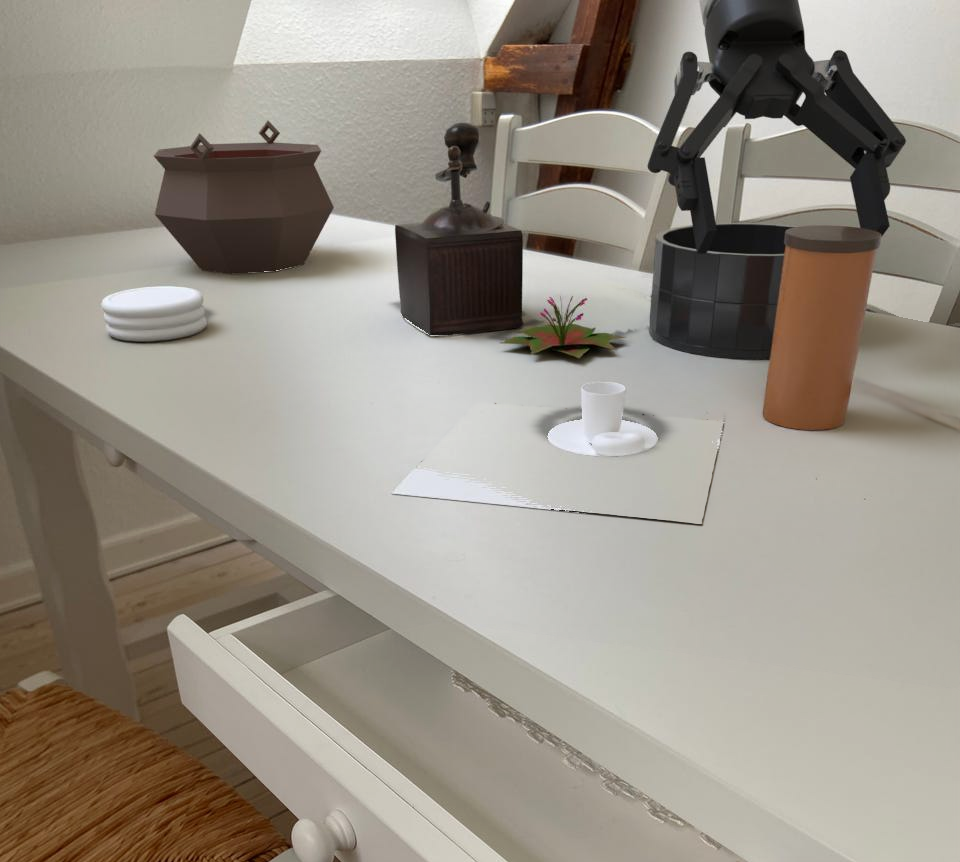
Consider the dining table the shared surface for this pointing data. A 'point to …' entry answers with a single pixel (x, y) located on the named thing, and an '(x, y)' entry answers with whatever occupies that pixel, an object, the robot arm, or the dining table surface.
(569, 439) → the teacup and saucer
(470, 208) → the coffee grinder
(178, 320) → the coaster
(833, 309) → the travel tumbler
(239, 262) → the brown cauldron
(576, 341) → the lily flower
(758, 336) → the pot
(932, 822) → the dining table surface
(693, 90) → the robot arm
